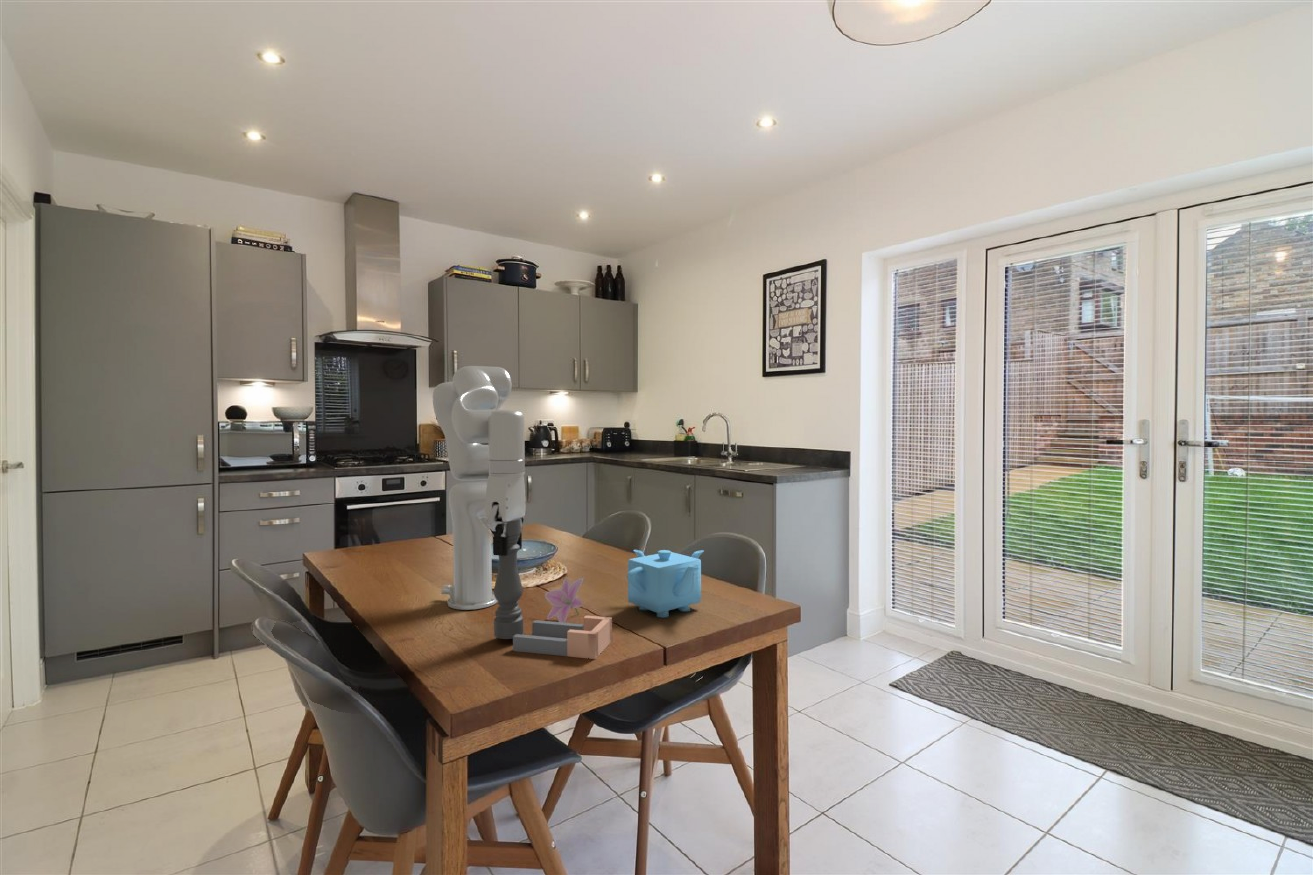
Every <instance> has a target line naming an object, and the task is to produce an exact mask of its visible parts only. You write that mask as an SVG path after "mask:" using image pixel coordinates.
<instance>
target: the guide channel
mask: <svg viewBox="0 0 1313 875" xmlns="http://www.w3.org/2000/svg"><path fill="white" fill-rule="evenodd" d="M582 620H583V623H572V622H565V623H562V622H559V621H550V620H549V621H548V620H539V619H537V620H536V619H535V620H533V621H532V622H531V625H532V626H531V627H532V628H531V629H532V630H531V631H532V635H531V634H522V635H521V634H516V635H514V636H513V638H512V651H513V652H520V653H531V654H538V655H539V654H540V655H550V656H560V657H561V656H562V657H570V658H581V659H588V658H589V659H590V660H597V658H598V657H599V656H600V655H601V654H600V653H603V652H604V650H605V649H606V648H607V647H608V646H609V645H610V644H611V642H612V641H613V617H611V616H609V617H608V616H598V615H597V616H596V615H585V616H584V617H583V618H582Z"/></svg>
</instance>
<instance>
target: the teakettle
mask: <svg viewBox="0 0 1313 875" xmlns="http://www.w3.org/2000/svg"><path fill="white" fill-rule="evenodd" d="M633 552H634V553H635V554H636V557H633V558H628V560H627V574H626V578H627V596H628V597H627V602H628V603H631V604H634V605H635V606H638V610H639V611H652V612H654V613H656V617H658V618H663V619H664V618H668V617H669V616H670V615H669V612H670V611H671V610H676V609H678V610H679V611H680V612H690V611H691V608H690V607H689V606H691V605H694V604H698V603H701V602H702V561H701V559H700V556H701V555H702V554H703V553H704V552H705V550H702V549H701V550H697V551H694V552H693V553H692V554H691V556H689V555H686V554H685V555H684V554H680V553H676V552H672V551H671V550H668V549H667V550H666V549H661V550H657V553H655V554H649V555H645V554H644V552H643V551H641V550H638V549H633Z"/></svg>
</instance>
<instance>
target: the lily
mask: <svg viewBox="0 0 1313 875" xmlns="http://www.w3.org/2000/svg"><path fill="white" fill-rule="evenodd" d="M584 580H585V577H579V578H578V579H576V580H574V581H572V582H571V583H570V581H569V579H568V576H565V577H564V579H563V581H562V584H561V587H560V589H552V590H549V591H547V592H545V593H544V597H545V599H546V601H547V602H548V603H549V604H550V605H551V606H552V608H551V609H550V610H549V611H548V612H549V613H548V615H547V617H546V621H548V620H549V621H550V619H553V618H555V617H557V621H558V622H562V623H566V622H567V621H566V620H567V618H568V615H569V613H570V610H572V609H575V611H576V614H577V615H580V613H579V612H578V609H577V608H580V607H583V606H584V602H583V601H582V600H581V599H580V598H579V597H578V596H577V594H578V591H579V590H580V587H581V586H582V583H583V582H584Z"/></svg>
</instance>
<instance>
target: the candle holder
mask: <svg viewBox="0 0 1313 875" xmlns="http://www.w3.org/2000/svg"><path fill="white" fill-rule="evenodd" d="M498 521H502V519H498ZM499 526H500V528H501V529H502V525H499ZM520 533H521V518H518V519H515V520H512V521H510V522H508V524H507V531H506V536H508V555H506V556H499V555H498V569H497V574H496V579H495V584H494V588H493V593H494V596H495V598H496V600H497V601H498V602H497V604H498V607H497V609H496V610H495V612H494V613H495V614H494V615H495V618H494V619H493V626H494V628H493V629H494V630H493V631H494V632H493V633H494V634H493V635H494V637H495V638H496V639H501V640H509V639H513V636H514V635H516V634H521V635H524V617H523V615H522V614H523V610H522V608H521V607H520V605H519V603H520V601H519V600H520V599H521V598H522V595H523V591H524V590H523V584H522V581H521V577H520V573H519V569H518V552H519V551H520V550H521V549H520V546H519V545H518V544H517V541H518V539H519V537H520Z"/></svg>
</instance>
